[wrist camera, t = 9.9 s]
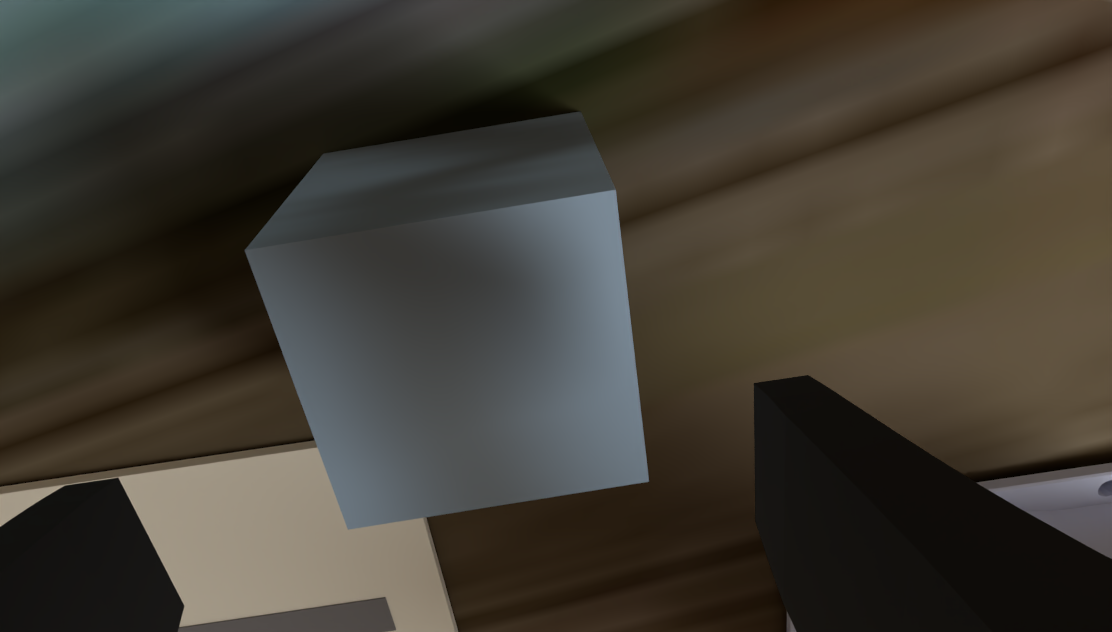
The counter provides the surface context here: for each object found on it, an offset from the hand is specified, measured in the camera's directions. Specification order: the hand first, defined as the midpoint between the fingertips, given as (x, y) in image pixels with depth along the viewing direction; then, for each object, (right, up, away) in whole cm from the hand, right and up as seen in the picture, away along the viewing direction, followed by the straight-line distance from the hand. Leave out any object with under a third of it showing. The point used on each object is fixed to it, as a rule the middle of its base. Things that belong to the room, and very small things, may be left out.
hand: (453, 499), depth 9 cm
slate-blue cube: (0, +3, +7) cm, 8 cm away
